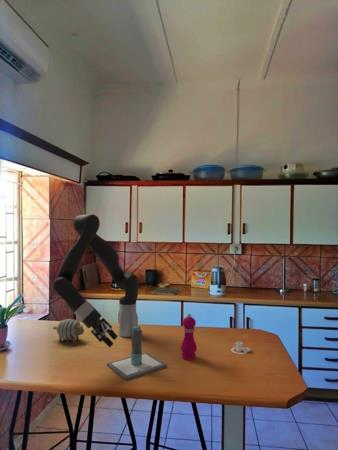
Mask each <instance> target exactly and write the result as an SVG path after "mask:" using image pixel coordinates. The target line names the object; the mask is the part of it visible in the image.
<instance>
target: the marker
mask: <svg viewBox="0 0 338 450" xmlns="http://www.w3.org/2000/svg"><path fill="white" fill-rule="evenodd" d="M142 333H143V330H142V328H141V326H139V325H138V326H134V327H133V330H132V337H131V351H130V357H131V365H133V366H139V365H141V364H142V353H143V351H142V350H143V349H142V347H143V346H142V343H143V342H142V337H143V336H142V335H143V334H142Z"/></svg>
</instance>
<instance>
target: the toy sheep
mask: <svg viewBox="0 0 338 450" xmlns="http://www.w3.org/2000/svg"><path fill="white" fill-rule="evenodd" d="M52 329H53V330H56V333H57V335H58V341H59V342H60V343H61V342H62V340H65V341H70V340H71V341H72V343H73V344H75V343H76V341H79V338H80V337H79V336H81V335H83V334H84V333H85V328H84V327H83V324H82V325H81V323H80V320H76V319H73V318H67V319H62V320H60V321H59V323H58V324H57V326H53V327H52Z"/></svg>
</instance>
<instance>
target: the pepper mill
mask: <svg viewBox="0 0 338 450" xmlns="http://www.w3.org/2000/svg"><path fill="white" fill-rule="evenodd" d="M196 323H197V322H196V320H195V318H194V317H193V316H192V314H191V313H188V314H187V315H186V317H184V318H183V319H182V325H183V334H184V336H183V340H182V342H181V345H180V350H181V358H182V359H183V360H185V361H193V360H195V359H196V351H197V350H198V349H197V348H198V347H197V343H196V341H195V338H194V333H195V326H196Z"/></svg>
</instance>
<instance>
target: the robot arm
mask: <svg viewBox="0 0 338 450" xmlns="http://www.w3.org/2000/svg"><path fill="white" fill-rule="evenodd" d="M72 222H73V223H72V224H73V227H74V230H75V231H76V233H77V234H78V235H79V238H78V239H77V241H76V242H75V243H74V244H73V245H72V246H71V248H70V249H69V250H68V252H67V253H66V254H65V257H64V258H63V262H62V264H61V266H60V270H59V273H58V275H57V277H56V279H55V280H54V281H53V283H52V284H53V285H52V291H53V294H54V295H56V296H58V297H60V298H62V299H63V300H64V301H65V303H66V305H67V306H68V308H69V309H70V310H71V311H72V312H73V313H74V314H75V316H76V317H77V318H78V319H79V321H81V323H82V324H84V326H85V327H86V328H87V329H91V328H92V329H91V330H90V333H91V334H92V335H93V336H94V337H95V338H96V339H97V341H99V342H100V343H101V342H103V343H104V344H105V345H106V346H107V347H108V348H111V347H113V345H114V342H113V341H112V340H114V341H115V340H117V338H118V336H119V337H121V338H132V330H133V327H134V326H139V325H138V323H139V321H138V319H139V317H138V316H137V299H138V297H139V296H138V295H139V278H138V276H137V275H136V274H133V273H128V272H127V273H126V272H125V271H124V270H123V269H122V268H121V265H120V258H119V254H118V252H117V251H116V249H115V248H114V247H113V245H112V244H111V243H109V242H108V241H107V240H106V239H103V238H102V237H101V236H99V234H97V232H98V231H99V228H100V223H101V222H100V219H99V217H98V216H97V215H96V214H92V213H91V214H89V213H88V214H81V215H77V216H75V218H74V219H73V221H72ZM88 247H89V248H90V249H91V250H92V251H93V253H94V254H95V256H96V257H97V259H98V260H99V261H100V262H101V264H102V265H103V266H104V267H105V269H106V271H108V273H109V275H110V276H111V278H112V279H113V282H114V284H115V285H116V287H117V288H118V289H120V290H122V291H125V294H124V295H123V296H121V297H119V302H118V303H119V305H118V307H119V308H118V309H119V310H118V314H119V315H118V316H119V318H118V335H117V334H116V332H115V331H114V330H113V326H112V325H111V324H110V323H109V322H108V321H107V319H106V318H105V317H102V314H101V313H100V312H99V311H98V310H97V309H96V308H95V307H94V305H92V303H90V302H89V301H88V300H87V299H86V298H85V297H84V296H83V295H82V294H81V293H80V292H79V291H78V289H77V288H76V287H75V286H74V284H73V281H74V278H75V275H76V274H77V271H78V269H79V267H80V264H81V261H82V259H83V256H84V255H85V253H86V251H87V249H88ZM107 334H108V336H109V337H110V338H112V340H111V339H110V338H109V337H108V336H107Z"/></svg>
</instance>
